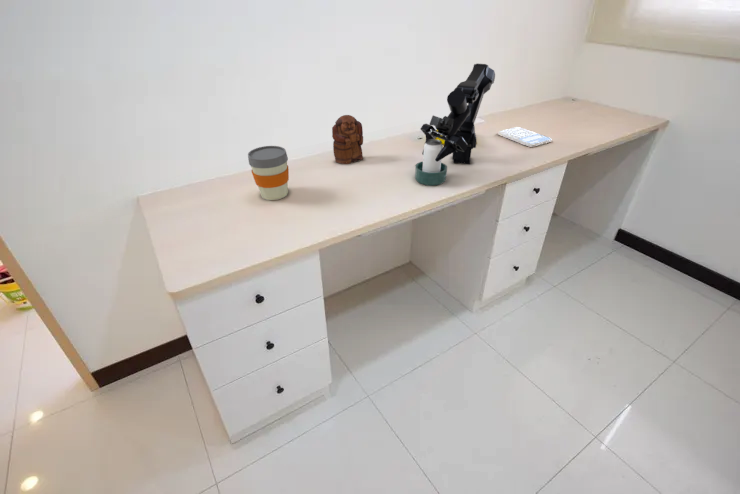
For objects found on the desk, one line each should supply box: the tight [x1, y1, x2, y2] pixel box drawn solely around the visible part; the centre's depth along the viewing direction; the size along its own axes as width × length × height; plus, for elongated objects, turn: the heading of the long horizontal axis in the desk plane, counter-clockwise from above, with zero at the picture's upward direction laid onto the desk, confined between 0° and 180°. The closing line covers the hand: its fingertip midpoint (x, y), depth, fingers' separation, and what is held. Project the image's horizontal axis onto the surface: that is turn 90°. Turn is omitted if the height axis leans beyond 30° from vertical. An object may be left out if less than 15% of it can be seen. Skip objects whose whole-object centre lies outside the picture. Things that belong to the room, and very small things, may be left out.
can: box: [422, 139, 444, 173], centre depth 132 cm, size 6×6×12 cm
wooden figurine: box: [331, 114, 364, 165], centre depth 147 cm, size 12×6×18 cm, turn 120°
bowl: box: [414, 160, 448, 187], centre depth 135 cm, size 11×11×5 cm
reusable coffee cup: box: [247, 145, 290, 201], centre depth 125 cm, size 12×13×15 cm
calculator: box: [498, 126, 553, 148], centre depth 169 cm, size 13×20×2 cm, turn 29°
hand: (429, 157), depth 131 cm, fingers closed on can, 6 cm apart
